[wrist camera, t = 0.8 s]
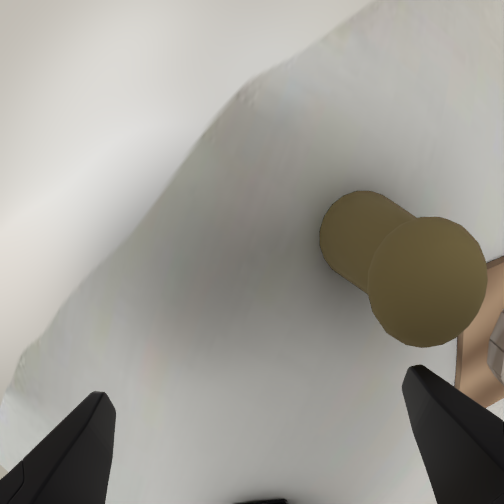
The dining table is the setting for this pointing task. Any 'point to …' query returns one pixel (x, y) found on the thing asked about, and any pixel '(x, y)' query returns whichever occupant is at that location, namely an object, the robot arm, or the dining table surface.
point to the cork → (406, 267)
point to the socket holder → (484, 344)
